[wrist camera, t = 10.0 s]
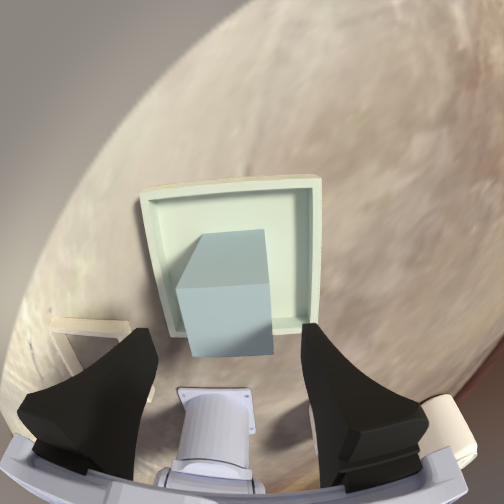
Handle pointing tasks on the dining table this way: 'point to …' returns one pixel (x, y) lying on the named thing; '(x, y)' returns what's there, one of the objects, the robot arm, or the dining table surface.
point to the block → (227, 296)
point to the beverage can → (447, 430)
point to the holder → (87, 328)
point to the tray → (237, 219)
